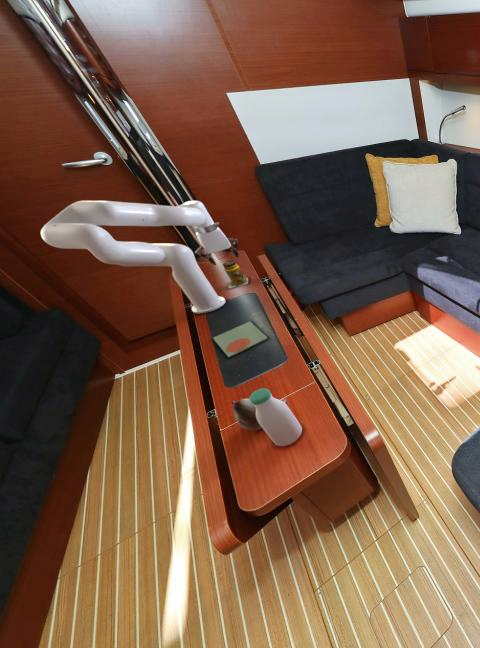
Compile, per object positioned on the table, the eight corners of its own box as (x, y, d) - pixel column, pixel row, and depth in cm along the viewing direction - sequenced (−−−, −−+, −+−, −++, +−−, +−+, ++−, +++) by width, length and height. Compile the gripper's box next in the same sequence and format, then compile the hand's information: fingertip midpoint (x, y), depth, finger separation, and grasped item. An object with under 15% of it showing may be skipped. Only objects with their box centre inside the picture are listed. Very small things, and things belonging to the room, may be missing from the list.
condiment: (248, 284, 169) (236, 263, 162) (228, 288, 165) (215, 268, 158) (248, 277, 174) (236, 257, 167) (228, 282, 170) (216, 262, 163)
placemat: (213, 338, 135) (212, 337, 135) (250, 322, 144) (250, 320, 144) (229, 358, 126) (228, 356, 126) (268, 338, 135) (267, 337, 135)
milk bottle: (308, 428, 102) (281, 387, 90) (287, 450, 96) (256, 409, 84) (289, 421, 104) (261, 380, 92) (268, 442, 98) (234, 401, 86)
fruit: (240, 421, 104) (220, 398, 97) (272, 403, 110) (255, 379, 102) (250, 441, 98) (229, 418, 91) (283, 421, 104) (266, 397, 97)
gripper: (224, 220, 159) (242, 251, 169) (180, 232, 148) (202, 265, 158) (230, 224, 155) (248, 256, 166) (185, 236, 144) (207, 269, 155)
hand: (225, 260), depth 162 cm, fingers open, 9 cm apart
